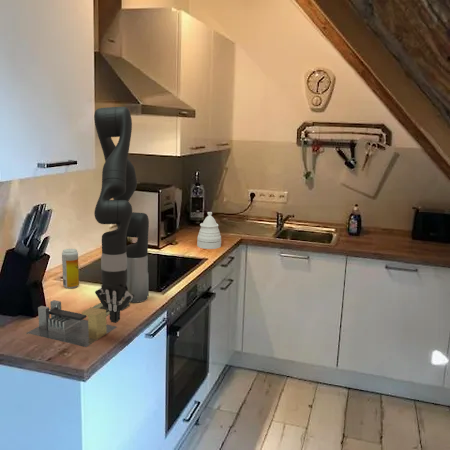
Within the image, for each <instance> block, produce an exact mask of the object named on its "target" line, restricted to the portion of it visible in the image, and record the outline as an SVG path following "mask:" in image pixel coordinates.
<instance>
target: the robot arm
mask: <svg viewBox="0 0 450 450" xmlns="http://www.w3.org/2000/svg"><path fill="white" fill-rule="evenodd" d="M131 114H132V113H131V112H130V110H129V108H128V107H127V106H111V107H110V106H109V107H99V108H96V110H95V111H94V117H93V118H94V125H95V129H96V133H97V137H98V140H99V143H100V146H101V147H100V148H101V150H102V153H103V157H104V163H103V166H102V170H101V171H102V172H101V189H100V194H99V196H98V200H97V202H96V205H95V208H94V218H95V221H96V222H97V223H98V224H100V225H116V226H117V228H116V229H114V230H110V231H105V232H104V233H103V234H102V235H101V259H100V270H101V271H100V273H101V275H100V276H101V283H102V284H101V287H100V288H98V289H96V290H95V292H94V293H95V295H96V297H97V298H98V300H99V301H100V302H99V303H102V305H103V306H104V308H108V309H109V312H110V315H109V320H110V323H113V324H117V323H119V321H120V319H121V310H122V311H123V310H125V309H127V308H128V307H129V306H128V304H129V303H141V302H142V303H143V302H145V301H147V300H148V298H149V290H150V289H149V272H148V271H149V268H148V267H149V266H148V263H149V262H148V257H149V255H148V253H149V252H148V250H149V227H150V225H149V224H150V223H149V222H150V219H149V216H148V213H145V212H135V211H134V212H133V206H132V204H131V202H130V199H131V198H132V196H133V194H134V193H135V192H136V189H137V185H138V181H137V173H136V169H135V167H134V164H133V163H132V162H131V161H130V160H129V158H128V157H129V151H130V145H131V138H132V129H133V120H132V115H131ZM118 137H119V139H118V141H117V143H116V144H115V143H114V140H113V139H112V138H118ZM127 238H137V241H135V242H133V243H131V244H128V245H127ZM123 299H124V301H123V303H122V300H123ZM105 301H106V302H105ZM121 303H122V304H121ZM127 306H128V307H127ZM126 307H127V308H126Z"/></svg>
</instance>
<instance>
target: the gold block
mask: <svg viewBox="0 0 450 450" xmlns="http://www.w3.org/2000/svg"><path fill="white" fill-rule="evenodd" d="M92 307H93V306H90V307H89V308H87V309H84V310H83V311H82V312H81V314H82V315H86V317H87V320H88V330H89V338H92V339H98V338H100V337H101V338H103V337H104V336H106V335H107V334H108V333H107V331H106V325H107V316H106V310H104V309H99V308H98V309H97V308H92ZM106 333H107V334H106ZM105 334H106V335H105ZM103 335H104V336H103ZM102 336H103V337H102ZM101 338H100V339H101ZM98 340H99V339H98Z"/></svg>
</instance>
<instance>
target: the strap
mask: <svg viewBox="0 0 450 450" xmlns="http://www.w3.org/2000/svg"><path fill="white" fill-rule="evenodd" d="M49 314H50V316H51V315H56V316H60V317H65V318H70V319H75V320H80V321H81V320H82V319H83V320H85V319H86V318H87V315H82V313H79V312H74V311H70V310H66V311H65V310H64V309H61V310H60V309H55V308H51V307H50V308H49Z"/></svg>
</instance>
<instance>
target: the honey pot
mask: <svg viewBox="0 0 450 450" xmlns="http://www.w3.org/2000/svg"><path fill="white" fill-rule="evenodd" d="M206 213H207V216H206V217H205V218H204V220H203V222H201V223H200V224H199V226H200V229H199V230H198V231H199V232H198V234H197V242H196V246H197V247H198V248H200V249H203V250H204V249H205V250H215V249H219V248H221V247H222V236H221V232H220V229H219V224H218V223H217V221H216V219H215V218H214V216H212V215H213V212H212V211H207V212H206Z"/></svg>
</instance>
